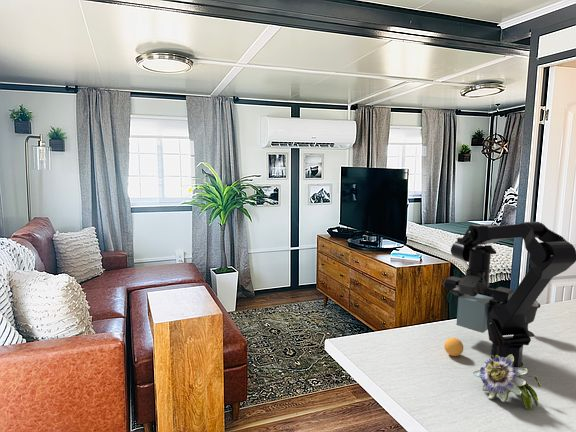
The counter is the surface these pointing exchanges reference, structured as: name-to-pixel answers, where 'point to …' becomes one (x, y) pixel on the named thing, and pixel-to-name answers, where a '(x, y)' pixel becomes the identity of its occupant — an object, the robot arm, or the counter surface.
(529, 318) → the sundae
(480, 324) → the grey-blue slanted prism
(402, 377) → the counter surface
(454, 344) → the ball
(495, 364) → the passion flower
